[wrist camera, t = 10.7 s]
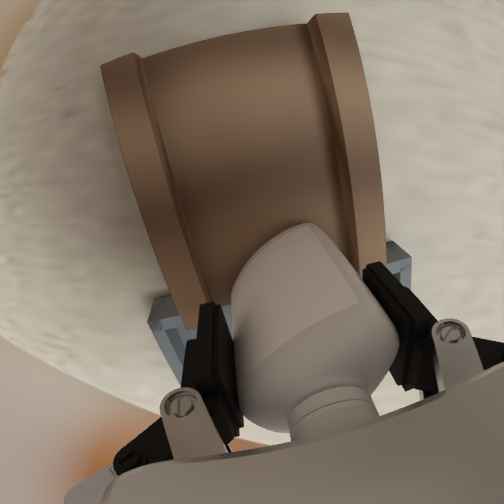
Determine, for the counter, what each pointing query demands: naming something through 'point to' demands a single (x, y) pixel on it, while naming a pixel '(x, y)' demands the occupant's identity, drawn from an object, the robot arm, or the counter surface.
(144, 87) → the slot block
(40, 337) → the counter surface
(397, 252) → the tray
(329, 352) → the eye dropper bottle
